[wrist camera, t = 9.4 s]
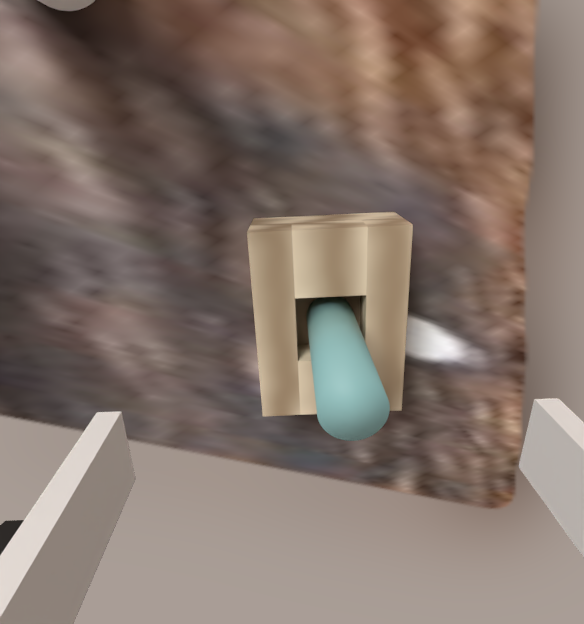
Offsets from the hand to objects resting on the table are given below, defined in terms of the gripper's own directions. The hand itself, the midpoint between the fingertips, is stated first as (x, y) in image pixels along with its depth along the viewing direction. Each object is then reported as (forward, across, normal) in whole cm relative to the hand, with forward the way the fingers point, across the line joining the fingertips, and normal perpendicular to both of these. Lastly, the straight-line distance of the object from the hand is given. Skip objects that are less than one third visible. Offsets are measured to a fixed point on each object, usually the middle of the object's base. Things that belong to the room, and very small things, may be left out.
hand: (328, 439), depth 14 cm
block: (+25, +2, -5) cm, 26 cm away
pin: (+22, +2, -5) cm, 23 cm away
